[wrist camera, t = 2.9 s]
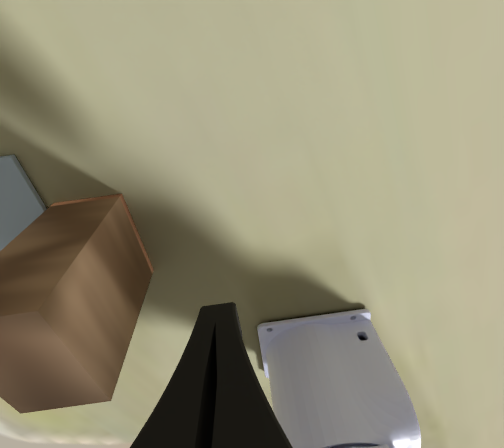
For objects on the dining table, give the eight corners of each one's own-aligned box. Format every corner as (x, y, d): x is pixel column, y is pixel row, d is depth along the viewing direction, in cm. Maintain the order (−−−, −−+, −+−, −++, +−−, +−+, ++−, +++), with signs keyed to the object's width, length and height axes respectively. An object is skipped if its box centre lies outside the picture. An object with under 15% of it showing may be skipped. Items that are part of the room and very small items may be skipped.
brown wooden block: (121, 193, 16) (37, 311, 9) (153, 270, 19) (110, 400, 12) (53, 203, 16) (-86, 328, 9) (96, 277, 19) (20, 413, 12)
